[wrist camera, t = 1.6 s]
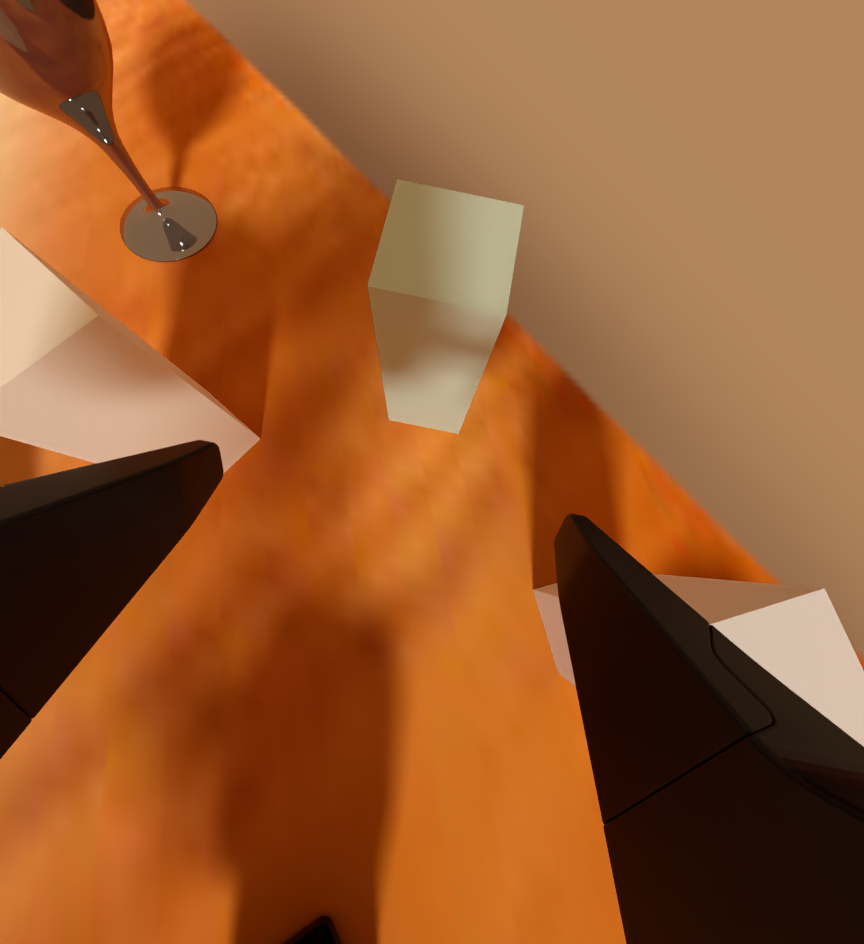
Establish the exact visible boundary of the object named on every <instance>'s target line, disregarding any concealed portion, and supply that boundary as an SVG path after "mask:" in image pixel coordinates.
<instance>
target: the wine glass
mask: <svg viewBox="0 0 864 944" xmlns="http://www.w3.org/2000/svg"><path fill="white" fill-rule="evenodd" d="M0 93H2V94H4V95H5V96H7V97H9V98H11V99H13V100H15V101H17V102H19V103H21V104H23V105H25V106H27V107H30V108H32V109H34V110H36V111H39V112H41V113H43V114H45V115H48V116H50V117H52V118H54V119H56V120H59V121H61V122H63V123H65V124H67V125H69V126H71V127H72V128H74V129H76V130H78V131H79V132H81V133H82V134H84V135H85V136H87V137H88V138H89V139H91V140H92V141H93V142H95V143H96V144H97V145H98V146H99V147H100V148H101V149H102V150H103V151H104V152H105V153H106V154H107V155H108V156H109V157H110V158H111V159H112V160H113V162H114V163H115V164H116V165H117V166H118V167H119V168H120V169H121V171H122V172H123V173H124V174H125V175H126V176H127V177H128V179H129V180H130V181H131V182H132V183H133V185H134V186H135V187H136V189H137V190H138V191H139V192H140V194H141V196H139V197H138V198H137V199H135V200H134V201H133V202H132V203H131V204H130V205H129V206H128V207H127V208H126V210H125V211H124V213H123V215H122V217H121V222H120V233H121V237H122V240H123V241H124V243H125V245H126V246H127V247H128V248H129V250H131V251H132V252H133V253H134V254H136V255H138V256H140V257H142V258H144V259H147V260H151V261H157V262H171V261H177V260H181V259H185V258H187V257H190V256H192V255H194V254H195V253H197V252H199V251H200V250H201V249H203V248H204V247H205V246H206V245H207V244H208V243H209V242H210V240H211V239H212V237H213V235H214V233H215V230H216V226H217V216H216V212H215V210H214V208H213V206H212V204H211V203H210V202H209V201H208V200H207V199H206V198H205V197H203V196H202V195H201V194H199V193H197V192H195V191H192V190H189V189H185V188H180V187H166V188H159V189H155V190H151V189H150V188H149V186H148V185H147V183H146V182H145V180H144V179H143V177H142V176H141V174H140V172H139V171H138V169H137V168H136V166H135V164H134V163H133V161H132V159H131V157H130V156H129V154H128V152H127V150H126V149H125V147H124V145H123V143H122V141H121V139H120V137H119V135H118V132H117V129H116V125H115V122H114V116H113V108H112V93H113V54H112V45H111V41H110V37H109V34H108V31H107V28H106V24H105V21H104V18H103V15H102V13H101V10H100V8H99V5H98V3H97V0H0Z"/></svg>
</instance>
